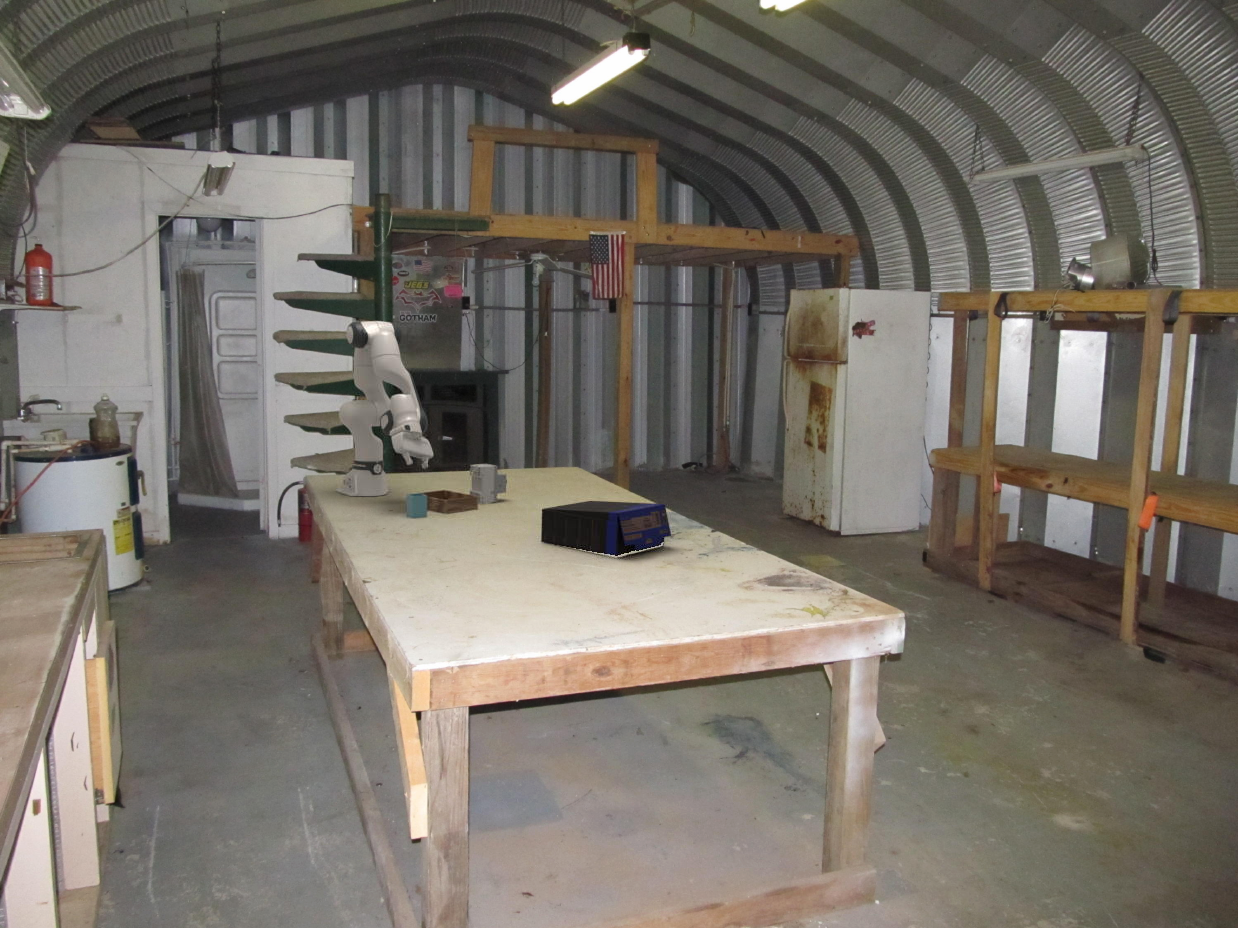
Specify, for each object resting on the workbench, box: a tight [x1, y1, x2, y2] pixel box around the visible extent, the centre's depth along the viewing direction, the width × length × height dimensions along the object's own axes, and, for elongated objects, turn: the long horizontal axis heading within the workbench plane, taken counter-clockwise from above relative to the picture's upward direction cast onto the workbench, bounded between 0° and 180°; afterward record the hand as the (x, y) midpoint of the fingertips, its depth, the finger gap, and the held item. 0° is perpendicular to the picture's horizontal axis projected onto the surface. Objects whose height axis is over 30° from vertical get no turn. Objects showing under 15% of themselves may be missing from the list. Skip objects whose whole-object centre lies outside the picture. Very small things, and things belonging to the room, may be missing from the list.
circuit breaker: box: [469, 463, 508, 505], centre depth 379 cm, size 8×14×15 cm, turn 133°
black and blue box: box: [540, 500, 672, 556], centre depth 304 cm, size 25×35×14 cm
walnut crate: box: [415, 489, 479, 515], centre depth 362 cm, size 20×16×5 cm
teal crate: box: [406, 492, 428, 519], centre depth 343 cm, size 6×6×8 cm
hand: (417, 466), depth 350 cm, fingers open, 8 cm apart
